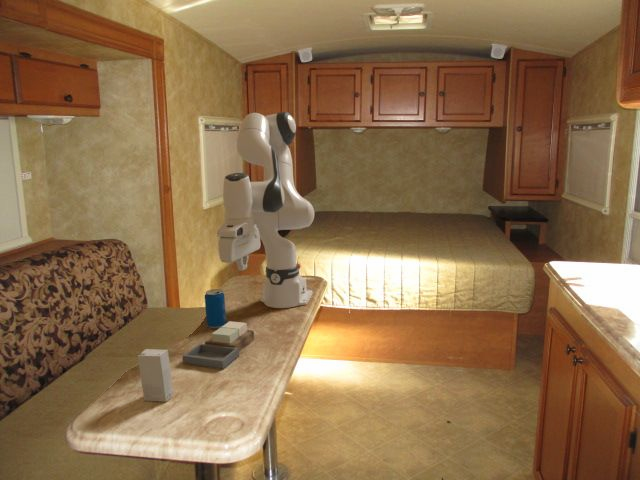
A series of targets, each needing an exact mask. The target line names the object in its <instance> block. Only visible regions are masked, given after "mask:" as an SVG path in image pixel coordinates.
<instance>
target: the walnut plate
mask: <svg viewBox="0 0 640 480" xmlns="http://www.w3.org/2000/svg"><path fill="white" fill-rule="evenodd" d="M254 341H255V330H250V329H247V331H246V332H245V333H244V334H242V335H241V336H240V337H238V338H237V339H236V340H234V341H233V342H232V343H230V344H229V343H221V342H213V341H212V336H211V337H210V338H208V339H207V340H205V341H204V344H209V345H217V346H225V347H233V348H239V353H241V351H243V350H244V349H245V348H246V347H247V346H248V345H250V344H251V343H252V342H254Z"/></svg>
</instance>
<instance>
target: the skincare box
mask: <svg viewBox="0 0 640 480" xmlns="http://www.w3.org/2000/svg"><path fill="white" fill-rule="evenodd" d="M137 361H138V367H139V368H138V369H139V373H140V381H141V388H142V393H143V400H144V401H145V402H146V401H147V402H161V403H163V402H164V403H167V402H169V400H170V399H171V398H172V397H173V396H174V387H173V379H172V373H171V372H172V371H171V364H170V357H169V350H168V349H154V348H153V349H152V348H151V349H149V348H145V349H144V350H143V351H142V352H140V354H138V355H137Z"/></svg>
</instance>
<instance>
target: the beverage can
mask: <svg viewBox="0 0 640 480" xmlns="http://www.w3.org/2000/svg"><path fill="white" fill-rule="evenodd" d="M225 299H226V297H225V293H224V291H223V289H221V288H219V289H218V288H213V289H212V288H211V289H209V290H208V289H207V290H206V291H205V294H204V307H205V318H206V327H209V328H210V329H219V328H221V327H222V326H224V325H225V324H226V323H227V313H226V300H225Z"/></svg>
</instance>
